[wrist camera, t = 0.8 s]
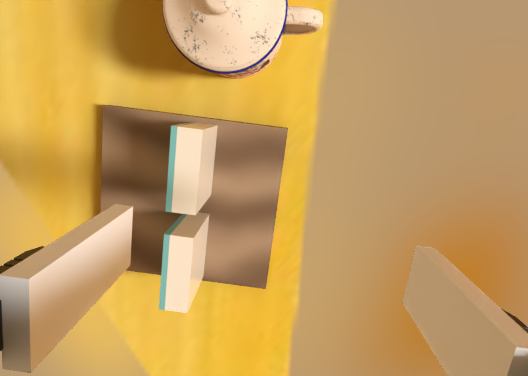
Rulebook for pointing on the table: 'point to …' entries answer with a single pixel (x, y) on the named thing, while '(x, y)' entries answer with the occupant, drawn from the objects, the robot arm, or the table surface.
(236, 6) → the teacup with lid
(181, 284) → the tile
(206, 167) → the tile
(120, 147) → the walnut board
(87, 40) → the table surface
